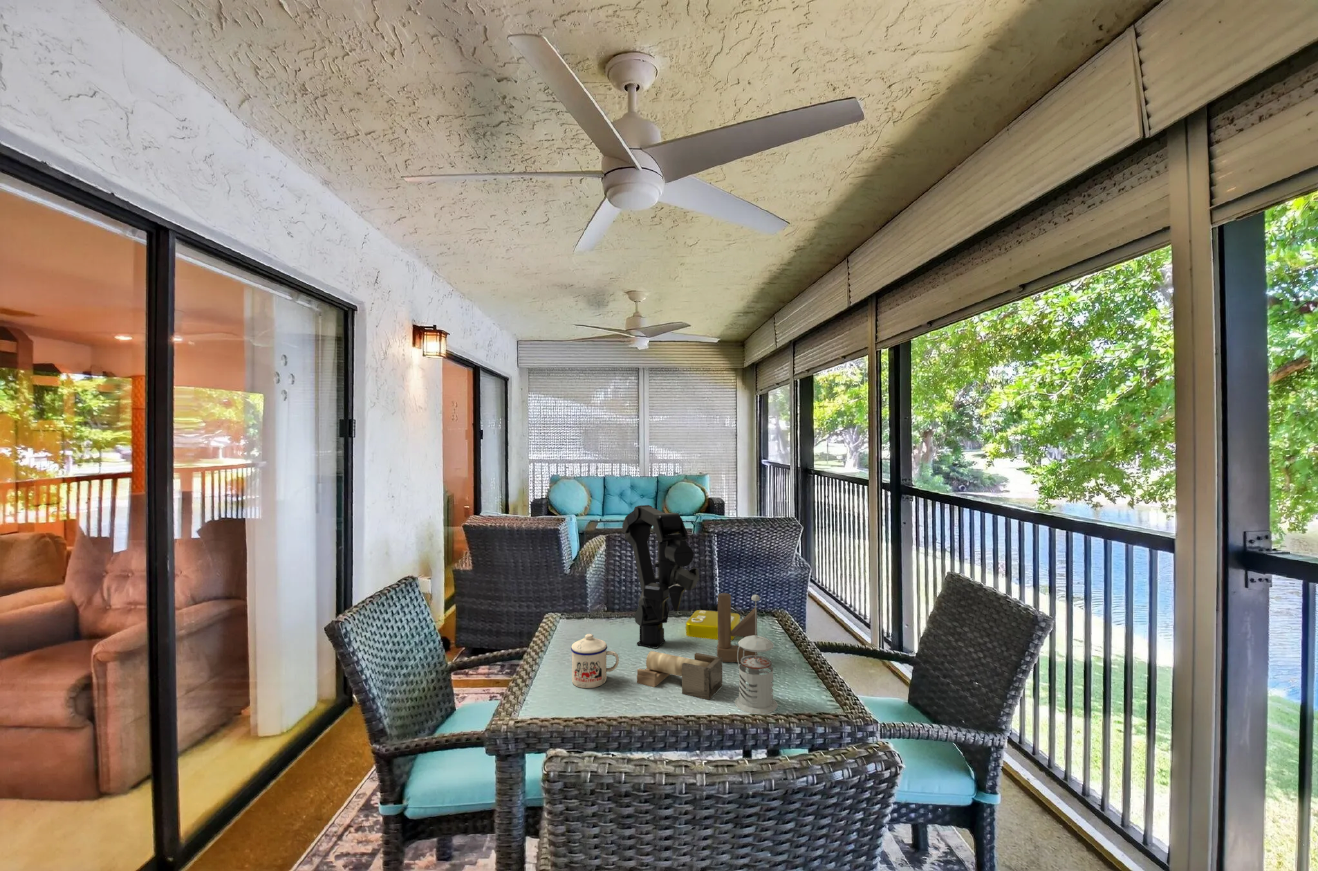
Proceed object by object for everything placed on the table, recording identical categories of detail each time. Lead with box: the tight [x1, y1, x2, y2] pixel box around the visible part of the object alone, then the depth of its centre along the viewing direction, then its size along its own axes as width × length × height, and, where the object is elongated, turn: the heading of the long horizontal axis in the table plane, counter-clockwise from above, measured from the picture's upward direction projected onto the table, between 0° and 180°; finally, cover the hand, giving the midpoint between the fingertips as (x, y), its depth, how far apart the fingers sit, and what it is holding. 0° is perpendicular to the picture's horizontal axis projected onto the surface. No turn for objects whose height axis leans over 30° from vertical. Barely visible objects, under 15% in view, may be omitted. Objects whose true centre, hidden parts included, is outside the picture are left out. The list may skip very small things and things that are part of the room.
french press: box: [734, 594, 779, 715], centre depth 130 cm, size 10×12×25 cm
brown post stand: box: [716, 592, 758, 663], centre depth 154 cm, size 4×11×18 cm, turn 86°
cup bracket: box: [681, 652, 724, 701], centre depth 136 cm, size 7×8×7 cm
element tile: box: [685, 609, 741, 641], centre depth 178 cm, size 15×15×5 cm
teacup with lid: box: [570, 633, 620, 689], centre depth 142 cm, size 12×9×12 cm
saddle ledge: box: [636, 667, 671, 688], centre depth 143 cm, size 5×8×3 cm, turn 152°
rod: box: [645, 650, 710, 677], centre depth 140 cm, size 16×4×4 cm, turn 62°
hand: (668, 615), depth 155 cm, fingers open, 9 cm apart
